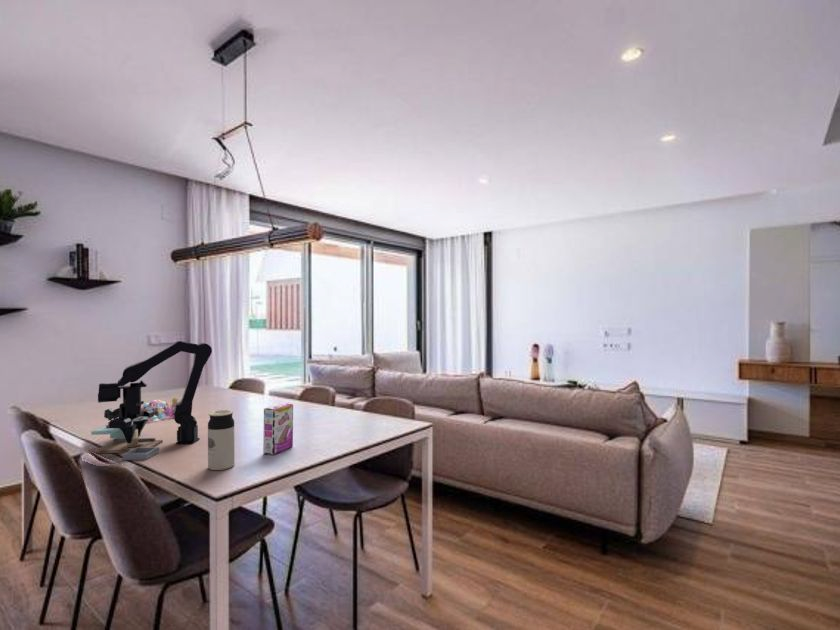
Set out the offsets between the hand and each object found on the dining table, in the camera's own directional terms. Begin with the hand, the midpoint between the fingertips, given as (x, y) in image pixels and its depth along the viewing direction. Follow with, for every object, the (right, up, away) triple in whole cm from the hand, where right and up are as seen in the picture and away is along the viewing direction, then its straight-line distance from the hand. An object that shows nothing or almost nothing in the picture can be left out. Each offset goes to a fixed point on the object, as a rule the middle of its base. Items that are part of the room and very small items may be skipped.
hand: (132, 441), depth 166 cm
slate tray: (+8, -3, -8) cm, 12 cm away
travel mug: (+42, -3, -19) cm, 46 cm away
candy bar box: (+55, -3, -2) cm, 55 cm away
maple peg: (0, -2, 0) cm, 2 cm away
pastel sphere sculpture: (-23, -4, +52) cm, 57 cm away
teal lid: (-10, -1, +2) cm, 10 cm away
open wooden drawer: (-2, -3, +2) cm, 4 cm away
